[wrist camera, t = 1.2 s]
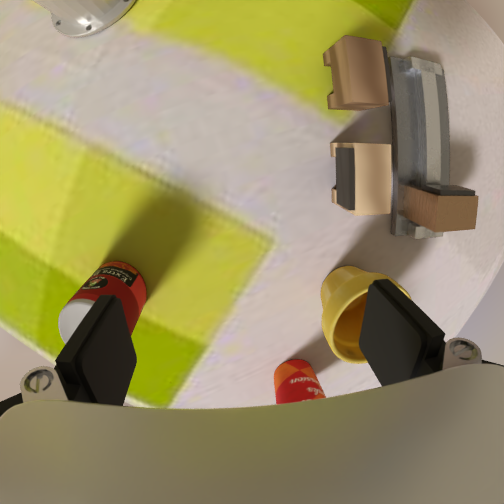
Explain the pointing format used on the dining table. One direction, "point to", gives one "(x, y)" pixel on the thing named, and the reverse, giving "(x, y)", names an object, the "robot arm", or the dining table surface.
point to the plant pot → (347, 309)
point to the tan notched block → (362, 177)
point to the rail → (410, 137)
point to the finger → (358, 74)
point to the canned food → (105, 283)
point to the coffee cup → (296, 382)
